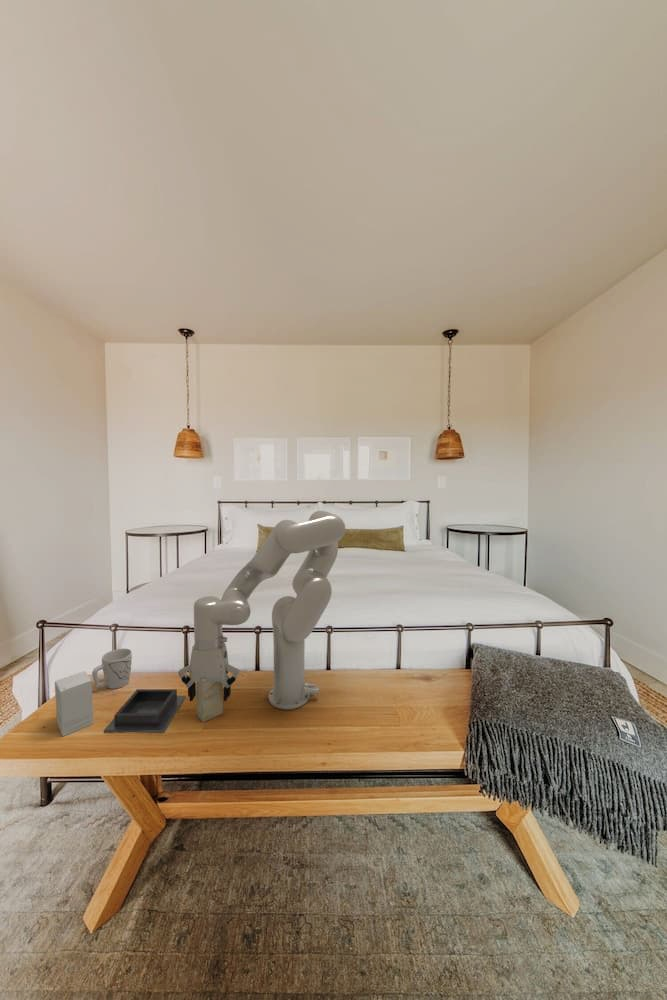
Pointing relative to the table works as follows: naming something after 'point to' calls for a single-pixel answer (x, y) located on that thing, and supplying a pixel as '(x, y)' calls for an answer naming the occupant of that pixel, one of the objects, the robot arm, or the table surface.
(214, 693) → the skincare box
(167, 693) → the sleeve holder
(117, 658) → the mug
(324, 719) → the table surface
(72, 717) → the supplement box
